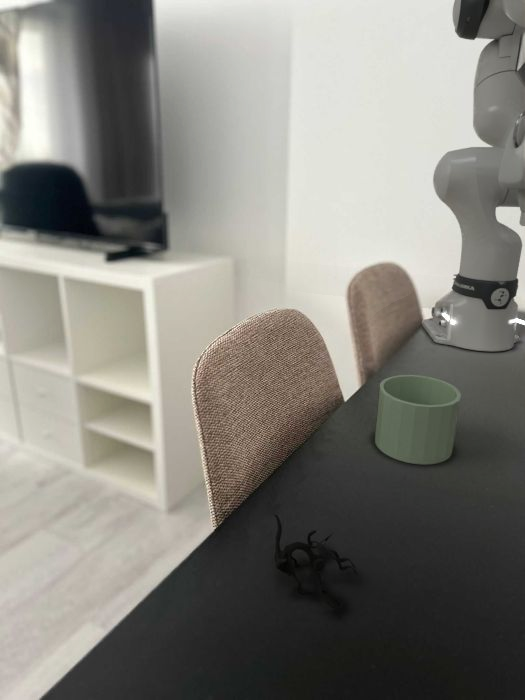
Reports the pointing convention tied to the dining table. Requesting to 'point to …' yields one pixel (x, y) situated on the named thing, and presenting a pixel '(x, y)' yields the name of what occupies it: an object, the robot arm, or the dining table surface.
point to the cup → (417, 419)
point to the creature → (315, 560)
